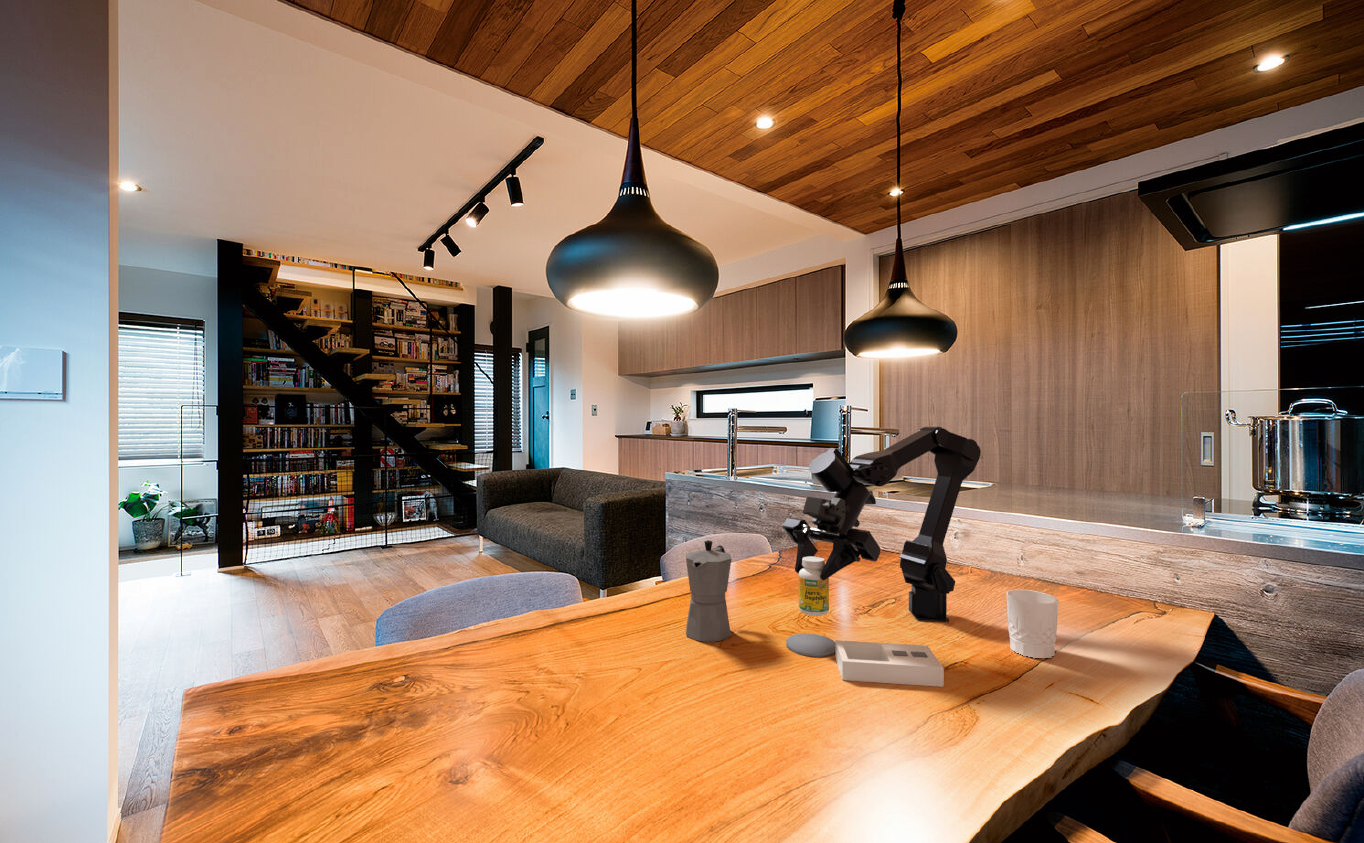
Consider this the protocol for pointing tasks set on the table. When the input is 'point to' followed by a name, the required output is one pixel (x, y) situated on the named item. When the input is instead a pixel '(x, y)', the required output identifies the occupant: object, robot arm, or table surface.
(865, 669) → the desk organizer
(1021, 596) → the white cup
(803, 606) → the supplement bottle
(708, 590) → the coffeepot
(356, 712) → the table surface
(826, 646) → the mat
